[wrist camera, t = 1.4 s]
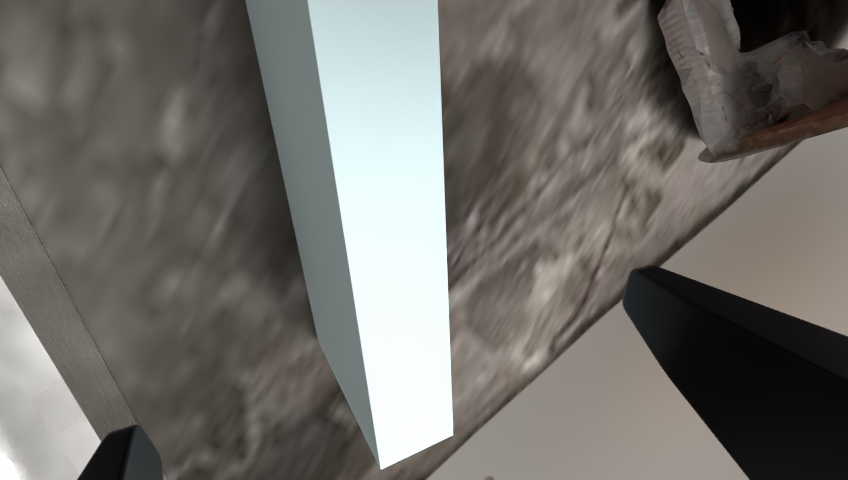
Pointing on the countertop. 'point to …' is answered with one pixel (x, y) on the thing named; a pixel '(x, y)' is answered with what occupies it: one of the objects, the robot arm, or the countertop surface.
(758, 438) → the robot arm
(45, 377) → the floor track
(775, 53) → the rusty metal skip
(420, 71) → the door panel
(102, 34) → the countertop surface
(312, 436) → the countertop surface
